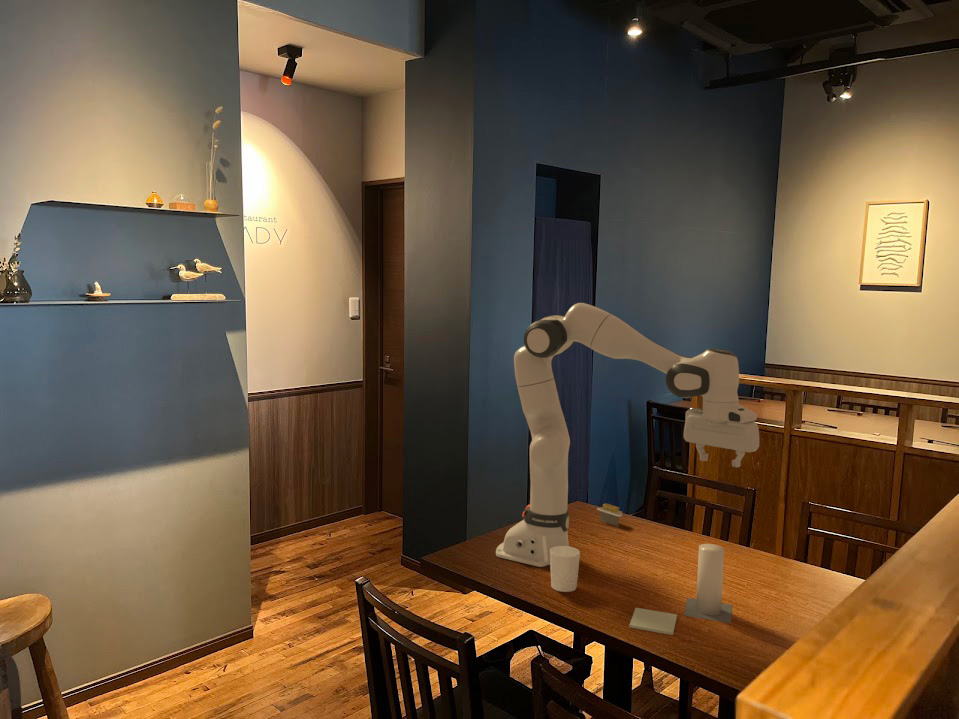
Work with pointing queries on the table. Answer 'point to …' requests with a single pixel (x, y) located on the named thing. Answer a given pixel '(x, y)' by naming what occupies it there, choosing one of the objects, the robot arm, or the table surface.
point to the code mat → (722, 617)
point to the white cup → (564, 568)
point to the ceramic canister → (710, 579)
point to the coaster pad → (653, 621)
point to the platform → (610, 514)
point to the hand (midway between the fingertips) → (719, 463)
